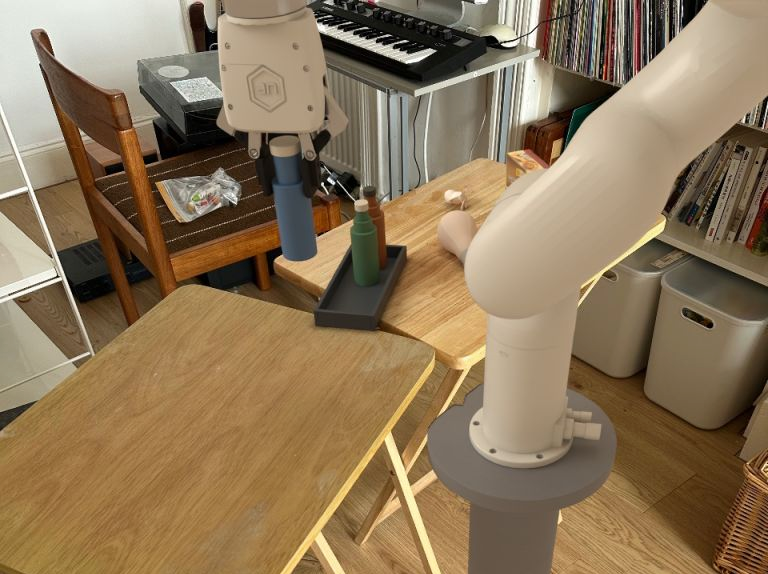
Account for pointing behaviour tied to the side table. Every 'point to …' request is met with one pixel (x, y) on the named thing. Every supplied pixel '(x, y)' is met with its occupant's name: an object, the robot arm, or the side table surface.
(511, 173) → the candy box
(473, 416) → the robot arm
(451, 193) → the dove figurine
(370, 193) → the amber bottle
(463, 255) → the light bulb
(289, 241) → the blue bottle
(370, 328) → the tray
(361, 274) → the green bottle
